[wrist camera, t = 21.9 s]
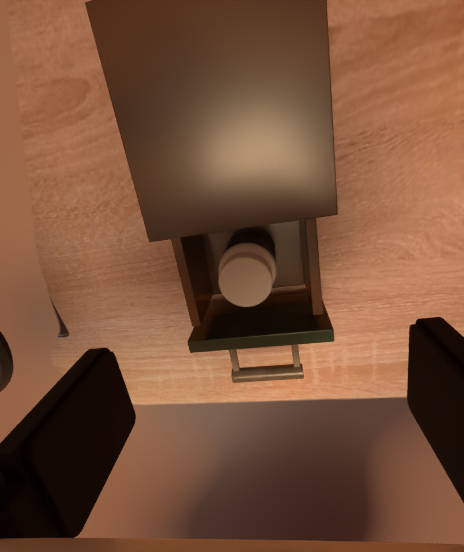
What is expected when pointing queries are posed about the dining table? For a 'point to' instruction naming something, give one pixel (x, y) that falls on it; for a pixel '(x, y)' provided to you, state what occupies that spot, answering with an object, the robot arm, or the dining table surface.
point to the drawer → (264, 316)
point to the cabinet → (221, 110)
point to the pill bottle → (248, 267)
